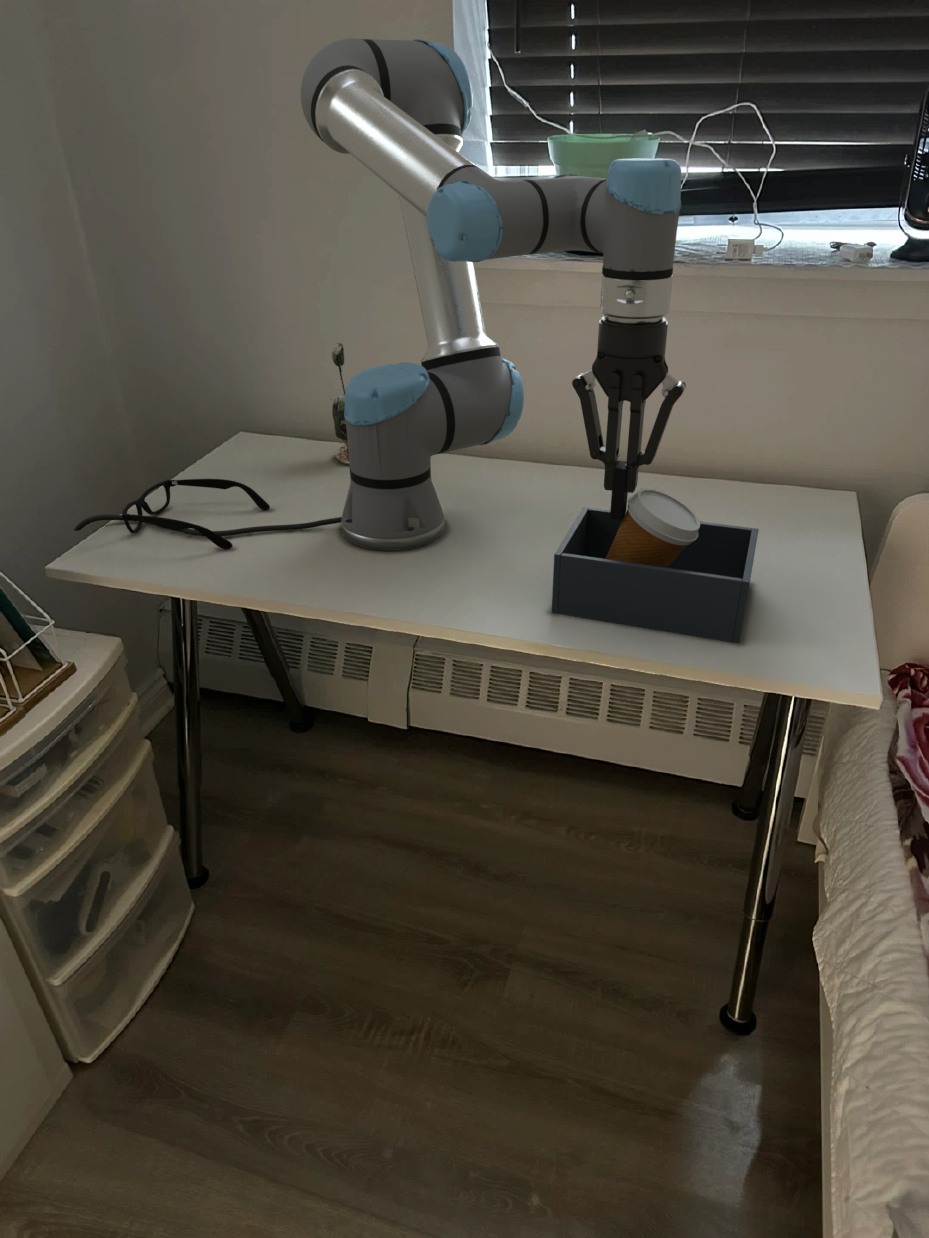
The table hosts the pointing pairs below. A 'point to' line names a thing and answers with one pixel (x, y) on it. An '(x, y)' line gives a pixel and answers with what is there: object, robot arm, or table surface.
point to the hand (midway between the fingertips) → (618, 515)
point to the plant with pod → (340, 408)
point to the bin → (656, 580)
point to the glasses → (182, 525)
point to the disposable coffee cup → (654, 529)
